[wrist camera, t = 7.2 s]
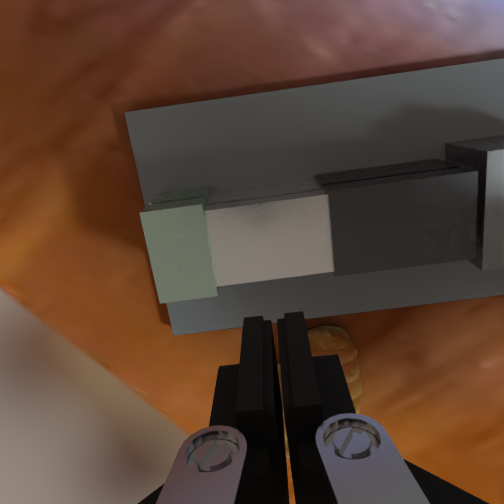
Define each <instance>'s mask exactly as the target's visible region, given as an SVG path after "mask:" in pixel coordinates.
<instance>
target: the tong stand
mask: <svg viewBox="0 0 504 504" xmlns="http://www.w3.org/2000/svg"><path fill="white" fill-rule="evenodd" d="M458 167H467V168H470V169H474V170H477V171H478V192H477V217H476V241H475V259H469V260H468V261H469V262H471V263H472V264H473V265H475V266H476V267H478V268H479V269H480V270H482V271H483V270H491V269H499V268H504V135H500V136H492V137H485V138H478V139H470V140H463V141H456V142H448V143H445V161H443V160H440V159H437V158H436V159H428V160H421V161H413V162H406V163H399V164H391V165H384V166H376V167H369V168H362V169H354V170H347V171H339V172H332V173H325V174H317V175H314V178H313V179H306V180H298V181H291V182H284V183H276V184H269V185H261V186H254V187H247V188H239V189H232V190H224V191H217V192H211V187H210V186H202V187H195V188H188V189H180V190H173V191H165V192H159V193H158V194H157V195H156V196H155V197H154V198H153V199H152V200H151V201H150V202H149V205H151V204H159V203H166V202H174V201H181V200H188V199H196V198H203V197H205V201H206V205H213V204H220V203H227V202H235V201H242V200H250V199H257V198H265V197H272V196H279V195H287V194H294V193H302V192H309V191H316V190H324V185H332V184H339V183H346V182H354V181H361V180H369V179H376V178H383V177H391V176H398V175H406V174H413V173H421V172H428V171H435V170H443V169H450V168H458Z"/></svg>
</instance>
